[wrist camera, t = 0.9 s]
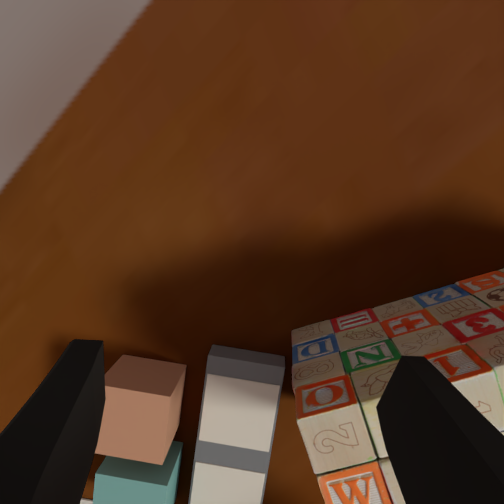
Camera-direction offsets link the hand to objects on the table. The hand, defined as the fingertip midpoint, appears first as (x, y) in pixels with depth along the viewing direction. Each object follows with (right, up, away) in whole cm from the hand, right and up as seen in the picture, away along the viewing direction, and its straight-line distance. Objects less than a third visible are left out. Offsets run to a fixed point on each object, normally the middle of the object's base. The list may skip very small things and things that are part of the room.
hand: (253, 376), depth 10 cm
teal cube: (-8, -14, +24) cm, 29 cm away
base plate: (-1, -12, +23) cm, 26 cm away
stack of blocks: (+14, -2, +21) cm, 25 cm away
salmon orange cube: (-8, -8, +23) cm, 25 cm away
